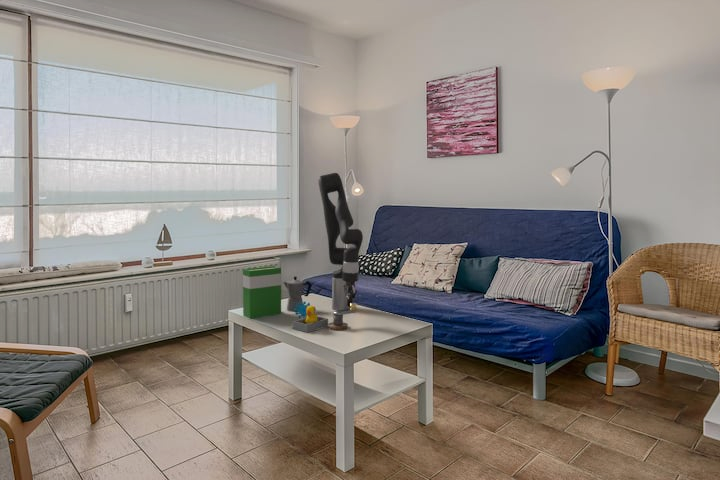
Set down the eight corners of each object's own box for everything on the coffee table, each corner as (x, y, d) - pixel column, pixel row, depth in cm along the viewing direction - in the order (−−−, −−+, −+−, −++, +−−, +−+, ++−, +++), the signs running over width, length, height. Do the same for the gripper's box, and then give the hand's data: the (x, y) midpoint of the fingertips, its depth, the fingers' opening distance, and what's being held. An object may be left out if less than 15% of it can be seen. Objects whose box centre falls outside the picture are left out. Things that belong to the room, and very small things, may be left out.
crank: (336, 316, 221) (336, 307, 220) (331, 314, 225) (331, 305, 224) (357, 313, 227) (358, 304, 226) (353, 311, 231) (353, 302, 230)
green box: (274, 310, 255) (273, 265, 253) (281, 313, 249) (281, 267, 247) (243, 315, 244) (242, 269, 241) (250, 318, 238) (249, 270, 236)
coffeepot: (281, 311, 253) (281, 277, 252) (284, 307, 263) (284, 274, 261) (310, 312, 253) (310, 278, 251) (312, 307, 262) (313, 275, 260)
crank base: (337, 323, 231) (337, 311, 230) (351, 327, 225) (351, 314, 225) (324, 327, 224) (324, 315, 223) (339, 331, 218) (339, 318, 218)
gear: (294, 317, 236) (295, 299, 243) (292, 323, 240) (293, 306, 247) (316, 319, 239) (316, 301, 245) (314, 325, 243) (314, 308, 249)
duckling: (314, 330, 218) (314, 308, 217) (302, 329, 219) (302, 307, 218) (319, 323, 229) (319, 302, 228) (308, 322, 230) (308, 302, 229)
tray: (313, 322, 233) (313, 315, 232) (328, 325, 227) (328, 318, 227) (292, 328, 222) (292, 321, 221) (307, 332, 216) (307, 324, 216)
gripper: (338, 268, 233) (337, 303, 235) (347, 273, 221) (346, 310, 223) (353, 268, 236) (352, 302, 238) (362, 273, 224) (361, 309, 226)
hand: (349, 306), depth 231 cm, fingers closed
